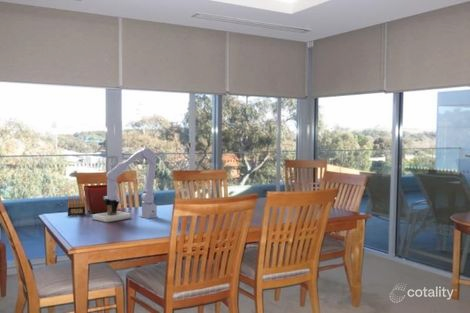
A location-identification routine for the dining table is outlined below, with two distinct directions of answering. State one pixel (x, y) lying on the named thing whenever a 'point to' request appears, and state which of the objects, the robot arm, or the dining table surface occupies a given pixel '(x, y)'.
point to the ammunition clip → (72, 207)
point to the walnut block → (110, 210)
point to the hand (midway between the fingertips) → (111, 212)
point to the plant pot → (96, 197)
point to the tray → (111, 216)
